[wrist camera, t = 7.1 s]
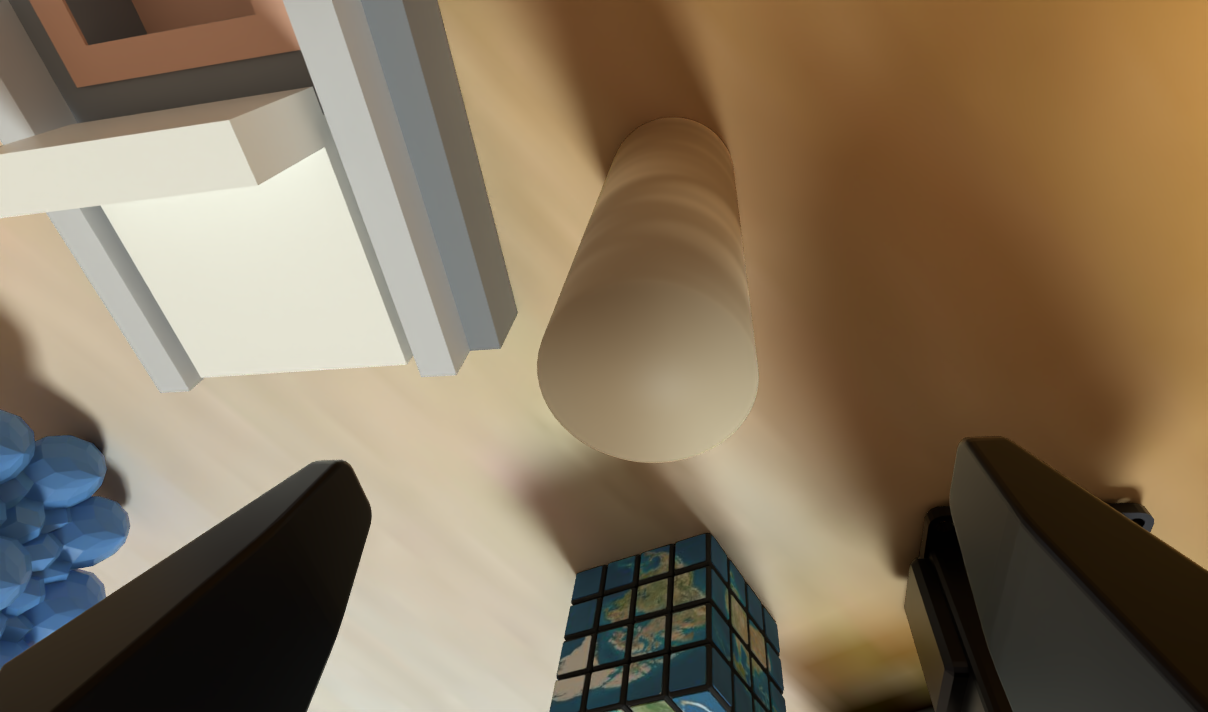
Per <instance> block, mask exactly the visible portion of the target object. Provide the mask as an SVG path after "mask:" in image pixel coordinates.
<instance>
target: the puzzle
mask: <svg viewBox="0 0 1208 712" xmlns="http://www.w3.org/2000/svg"><path fill="white" fill-rule="evenodd" d="M571 604H572V605H573V606H571V607H570V611H569V616H568V621H567V626H566V631H565V636H564V638H565V640H566V641H564V643H563V647H562V651H561V656H560V661H559V666H558V671H557V679H558V680H557V681H556V682H555V687H554V692H553V697H552V702H551V707H550V712H786V706H785V699H784V698H783V696H782V694H783V691H784V687H783V677H782V668H781V660H780V659H779V652H780V649H779V639H778V630H777V624H776V623H775V621H774V620H773V619H772V617H771V616H770V615H769V613H768V612H767V610H766V609H765V608H763V607H762V606H761V602H760V601H759V599H758V598H757V597H756V595H755V594H754V592H753V591H752V590H751V588H750V587H749V585H747V584H746V583H744V579H743V577H742V576H741V574H740V573H739V572H738V570H737V569H736V567H735V566H734V565H733V563H732V562H731V561H729V559H727V555H726V554H725V552H724V551H723V550H722V548H721V547H720V545H719V544H718V543H717V541H716V540H715V538H714V537H713V536H712V535H710V534H709V533H707V534H702V535H699V536H695V537H692V538H689V539H686V540H683V541H679V542H677V543H676V545H675V546H674V545H673V544H671V545H668V546H664V547H661V548H658V549H654V550H651V551H648V552H644V553H642V554H641V556H640V555H636V556H632V557H629V558H626V559H622V560H619V561H616V562H612V563H610V564H608V567H607V566H606V565H604V566H600V567H596V568H593V569H590V570H587V571H584V572H581V573H578V574H577V575H576V580H575V585H574V590H573V595H572V601H571Z"/></svg>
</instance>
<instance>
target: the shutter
mask: <svg viewBox="0 0 1208 712" xmlns="http://www.w3.org/2000/svg"><path fill="white" fill-rule="evenodd" d="M92 206H101V207H102V209H103V211H104V212H105V214H106V216H107V218H108V219H109V221H110V223H111V224H112V226H113V228H114V229H115V231H116V233H117V235H118V236H119V238H120V240H121V241H122V243H123V245H124V247H125V248H126V250H127V252H128V253H129V255H130V257H131V259H132V260H133V262H134V264H135V265H136V267H137V269H138V271H139V272H140V274H141V276H142V277H143V279H144V281H145V283H146V284H147V286H148V288H149V289H150V291H151V293H152V295H153V296H154V298H155V300H156V301H157V303H158V305H159V306H160V308H161V310H162V312H163V313H164V315H165V317H166V318H167V320H168V322H169V324H170V325H171V327H172V329H173V330H174V332H175V334H176V336H177V337H178V339H179V341H180V342H181V344H182V346H183V348H184V349H185V351H186V353H187V354H188V356H189V358H190V360H191V361H192V363H193V365H194V366H195V368H196V370H197V372H198V373H199V375H200V377H201V378H206V377H221V376H237V375H252V374H268V373H284V372H299V371H315V370H330V369H346V368H361V367H377V366H392V365H407V364H408V362H409V361H410V359H411V358H412V356H413V353H412V351H411V348H410V345H409V342H408V340H407V337H406V334H405V332H404V329H403V326H402V323H401V321H400V318H399V315H398V312H397V310H396V307H395V304H394V302H393V299H392V296H391V293H390V291H389V288H388V285H387V283H386V280H385V277H384V274H383V272H382V269H381V266H380V264H379V261H378V258H377V255H376V253H375V250H374V247H373V245H372V242H371V239H370V236H369V234H368V231H367V228H366V226H365V223H364V220H363V217H362V215H361V212H360V209H359V207H358V204H357V201H356V198H355V196H354V193H353V190H352V187H351V185H350V182H349V179H348V177H347V174H346V171H345V168H344V166H343V163H342V160H341V158H340V155H339V152H338V149H337V147H336V144H335V141H334V139H333V136H332V133H331V130H330V128H329V125H328V122H327V120H326V117H325V114H324V113H322V110H321V108H320V105H319V102H318V100H317V97H316V94H315V92H314V89H313V86H312V87H306V88H300V89H293V90H287V91H280V92H274V93H268V94H261V95H255V96H249V97H242V98H236V99H230V100H223V101H217V102H211V103H204V104H198V105H191V106H185V107H179V108H172V109H166V110H160V111H153V112H147V113H141V114H134V115H128V116H122V117H115V118H109V119H102V120H96V121H90V122H83V123H77V124H71V125H67V126H64V127H60V128H57V129H54V130H51V131H47V132H44V133H41V134H38V135H34V136H31V137H28V138H25V139H21V140H18V141H15V142H12V143H8V144H5V145H2V146H0V218H6V217H14V216H21V215H29V214H37V213H45V212H53V211H61V210H69V209H76V208H84V207H92Z"/></svg>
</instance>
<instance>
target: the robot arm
mask: <svg viewBox="0 0 1208 712" xmlns="http://www.w3.org/2000/svg"><path fill="white" fill-rule="evenodd" d="M371 518H372V514H371V507H370V504H369V501H368V499H367V497H366V495H365V493H364V491H363V489H362V487H361V485H360V483H359V480H358V478H357V476H356V474H355V472H354V470H353V468H352V467H351V465H350V464H349V463H347V462H346V461H343V460H321V461H315V462H312V463H310V464H309V465H307V466H306V467H304V468H303V469H301V470H300V471H298V472H296V473H295V474H293V475H292V476H290V477H289V478H287V479H286V480H284V481H283V482H281V483H280V484H278V485H277V486H275V487H274V488H272V489H271V490H269V491H268V492H266V493H264V494H263V495H261V496H260V497H258V498H257V499H255V500H254V501H252V502H251V503H249V504H248V505H246V506H245V507H243V508H242V509H240V510H239V511H237V512H236V513H234V514H232V515H231V516H229V517H228V518H226V519H225V520H223V521H222V522H220V523H219V524H217V525H216V526H214V527H213V528H211V529H210V530H208V531H207V532H205V533H204V534H202V535H200V536H199V537H197V538H196V539H194V540H193V541H191V542H190V543H188V544H187V545H185V546H184V547H182V548H181V549H179V550H178V551H176V552H175V553H173V554H172V555H170V556H168V557H167V558H165V559H164V560H162V561H161V562H159V563H158V564H156V565H155V566H153V567H152V568H150V569H149V570H147V571H146V572H144V573H143V574H141V575H140V576H138V577H136V578H135V579H133V580H132V581H130V582H129V583H127V584H126V585H124V586H123V587H121V588H120V589H118V590H117V591H115V592H114V593H112V594H111V595H109V596H108V597H106V598H104V599H103V600H101V601H100V602H98V603H97V604H95V605H94V606H92V607H91V608H89V609H88V610H86V611H85V612H83V613H82V614H80V615H79V616H77V617H76V618H74V619H72V620H71V621H69V622H68V623H66V624H65V625H63V626H62V627H60V628H59V629H57V630H56V631H54V632H53V633H51V634H50V635H48V636H47V637H45V638H44V639H42V640H40V641H39V642H37V643H36V644H34V645H33V646H31V647H30V648H28V649H27V650H25V651H24V652H22V653H21V654H19V655H18V656H16V657H15V658H13V659H12V660H10V661H8V662H7V663H5V664H4V665H3V666H2V668H1V670H0V712H307V710H308V707H309V705H310V702H311V700H312V697H313V695H314V693H315V690H316V688H317V685H318V683H319V680H320V678H321V675H322V673H323V670H324V668H325V665H326V663H327V661H328V658H329V656H330V653H331V650H332V648H333V645H334V643H335V640H336V637H337V634H338V631H339V628H340V625H341V622H342V619H343V616H344V613H345V610H346V606H347V603H348V599H349V596H350V593H351V589H352V586H353V583H354V579H355V576H356V572H357V569H358V566H359V562H360V559H361V555H362V552H363V549H364V545H365V542H366V539H367V535H368V532H369V528H370V525H371ZM941 521H945V522H941ZM1153 524H1154V519H1153V517H1152V516H1151V514H1150V513H1149V512H1148V511H1147V509H1146V508H1145V507H1144V506H1143V505H1141V504H1136V503H1112V504H1106V503H1105V502H1103V501H1102V500H1100V499H1099V498H1097V497H1096V496H1094V495H1093V494H1091V493H1090V492H1088V491H1087V490H1085V489H1084V488H1082V487H1081V486H1079V485H1078V484H1076V483H1075V482H1073V481H1072V480H1070V479H1068V478H1067V477H1065V476H1064V475H1062V474H1061V473H1059V472H1058V471H1056V470H1055V469H1053V468H1052V467H1050V466H1049V465H1047V464H1046V463H1044V462H1043V461H1041V460H1040V459H1038V458H1037V457H1035V456H1034V455H1032V454H1031V453H1029V452H1028V451H1026V450H1025V449H1023V448H1022V447H1020V446H1019V445H1017V444H1016V443H1014V442H1013V441H1011V440H1009V439H1007V438H1005V437H1001V436H986V437H967V438H965V439H963V440H961V442H960V443H959V445H958V448H957V453H956V459H955V465H954V471H953V477H952V483H951V489H950V506H941V507H936V508H933V509H931V510H930V511H929V512H928V513H927V514H926V516H925V520H924V527H923V534H922V541H921V548H920V555H919V558H915V559H914V560H913V562H912V563H911V564H910V569H909V576H908V583H907V591H906V598H905V605H904V608H905V612H906V615H907V619H908V622H909V626H910V629H911V632H912V636H913V639H914V643H915V646H916V649H917V653H918V656H919V659H920V663H921V666H922V670H923V673H924V676H925V680H926V683H927V687H928V690H929V693H930V697H931V700H932V703H933V707H934V710H935V712H1208V571H1207V570H1206V569H1204V568H1203V567H1201V566H1200V565H1198V564H1197V563H1195V562H1194V561H1192V560H1191V559H1189V558H1188V557H1186V556H1185V555H1183V554H1181V553H1180V552H1178V551H1177V550H1175V549H1174V548H1172V547H1171V546H1169V545H1168V544H1166V543H1165V542H1163V541H1162V540H1160V539H1159V538H1157V537H1156V536H1154V535H1153V534H1151V533H1150V532H1151V529H1152V527H1153Z"/></svg>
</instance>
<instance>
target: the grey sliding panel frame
mask: <svg viewBox="0 0 1208 712" xmlns="http://www.w3.org/2000/svg"><path fill="white" fill-rule="evenodd" d="M312 86H313V89H314V92H315V94H316V97H317V100H318V102H319V105H320V108H321V110H322V113H324V114H325V117H326V120H327V122H328V125H329V128H330V130H331V133H332V136H333V139H334V141H335V144H336V147H337V149H338V152H339V155H340V158H341V160H342V163H343V166H344V168H345V171H346V174H347V177H348V179H349V182H350V185H351V187H352V190H353V193H354V196H355V198H356V201H357V204H358V207H359V209H360V212H361V215H362V217H363V220H364V223H365V226H366V228H367V231H368V234H369V236H370V239H371V242H372V245H373V247H374V250H375V253H376V255H377V258H378V261H379V264H380V266H381V269H382V272H383V274H384V277H385V280H386V283H387V285H388V288H389V291H390V293H391V296H392V299H393V302H394V304H395V307H396V310H397V312H398V315H399V318H400V321H401V323H402V326H403V329H404V332H405V334H406V337H407V340H408V342H409V345H410V348H411V351H412V353H413V356H414V359H415V361H416V364H417V367H418V370H419V372H420V375H421V377H433V376H449V375H457V373H458V371H459V369H460V368H461V366H462V364H463V362H464V360H465V359H466V357H467V355H468V353H469V351H473V350H488V349H501V347H502V345H503V343H504V340H505V338H506V336H507V334H508V332H509V330H510V328H511V326H512V324H513V322H514V320H515V318H516V316H517V314H518V313H517V309H516V305H515V301H514V297H513V293H512V289H511V285H510V281H509V278H508V274H507V270H506V266H505V262H504V258H503V254H502V250H501V246H500V243H499V239H498V235H497V231H496V227H495V223H494V219H493V215H492V211H491V208H490V204H489V200H488V196H487V192H486V188H485V184H484V180H483V177H482V173H481V169H480V165H479V161H478V157H477V153H476V149H475V145H474V142H473V138H472V134H471V130H470V126H469V122H468V118H467V114H466V110H465V107H464V103H463V99H462V95H461V91H460V87H459V83H458V79H457V75H456V72H455V68H454V64H453V60H452V56H451V52H450V48H449V44H448V41H447V37H446V33H445V29H444V25H443V21H442V17H441V13H440V9H439V6H438V2H437V0H0V141H1V142H2V144H3V145H5V144H8V143H12V142H15V141H18V140H21V139H25V138H28V137H31V136H34V135H38V134H41V133H44V132H47V131H51V130H54V129H57V128H60V127H64V126H67V125H71V124H77V123H83V122H90V121H96V120H102V119H109V118H115V117H122V116H128V115H134V114H141V113H147V112H153V111H160V110H166V109H172V108H179V107H185V106H191V105H198V104H204V103H211V102H217V101H223V100H230V99H236V98H242V97H249V96H255V95H261V94H268V93H274V92H280V91H287V90H293V89H300V88H306V87H312ZM46 213H47V215H48V217H49V218H50V220H51V221H52V223H53V224H54V226H55V228H56V229H57V231H58V232H59V234H60V236H61V237H62V239H63V240H64V242H65V243H66V245H67V247H68V248H69V250H70V251H71V253H72V254H73V256H74V258H75V259H76V261H77V262H78V264H79V265H80V267H81V269H82V270H83V272H84V273H85V275H86V277H87V278H88V280H89V281H90V283H91V284H92V286H93V288H94V289H95V291H96V292H97V294H98V295H99V297H100V299H101V300H102V302H103V303H104V305H105V306H106V308H107V310H108V311H109V313H110V314H111V316H112V318H113V319H114V321H115V322H116V324H117V325H118V327H119V329H120V330H121V332H122V333H123V335H124V336H125V338H126V340H127V341H128V343H129V344H130V346H131V348H132V349H133V351H134V352H135V354H136V355H137V357H138V359H139V360H140V362H141V363H142V365H143V366H144V368H145V370H146V371H147V373H148V374H149V376H150V377H151V379H152V381H153V382H154V384H155V385H156V387H157V389H158V390H159V392H160V393H166V392H183V391H190V390H191V389H193V388H194V387H195V386H196V385H197V384H198V383H199V382H200V381H202V380H203V379H204V378H201V377H200V375H199V373H198V372H197V370H196V368H195V366H194V365H193V363H192V361H191V360H190V358H189V356H188V354H187V353H186V351H185V349H184V348H183V346H182V344H181V342H180V341H179V339H178V337H177V336H176V334H175V332H174V330H173V329H172V327H171V325H170V324H169V322H168V320H167V318H166V317H165V315H164V313H163V312H162V310H161V308H160V306H159V305H158V303H157V301H156V300H155V298H154V296H153V295H152V293H151V291H150V289H149V288H148V286H147V284H146V283H145V281H144V279H143V277H142V276H141V274H140V272H139V271H138V269H137V267H136V265H135V264H134V262H133V260H132V259H131V257H130V255H129V253H128V252H127V250H126V248H125V247H124V245H123V243H122V241H121V240H120V238H119V236H118V235H117V233H116V231H115V229H114V228H113V226H112V224H111V223H110V221H109V219H108V218H107V216H106V214H105V212H104V211H103V209H102V207H101V206H92V207H84V208H76V209H69V210H61V211H53V212H46Z"/></svg>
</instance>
